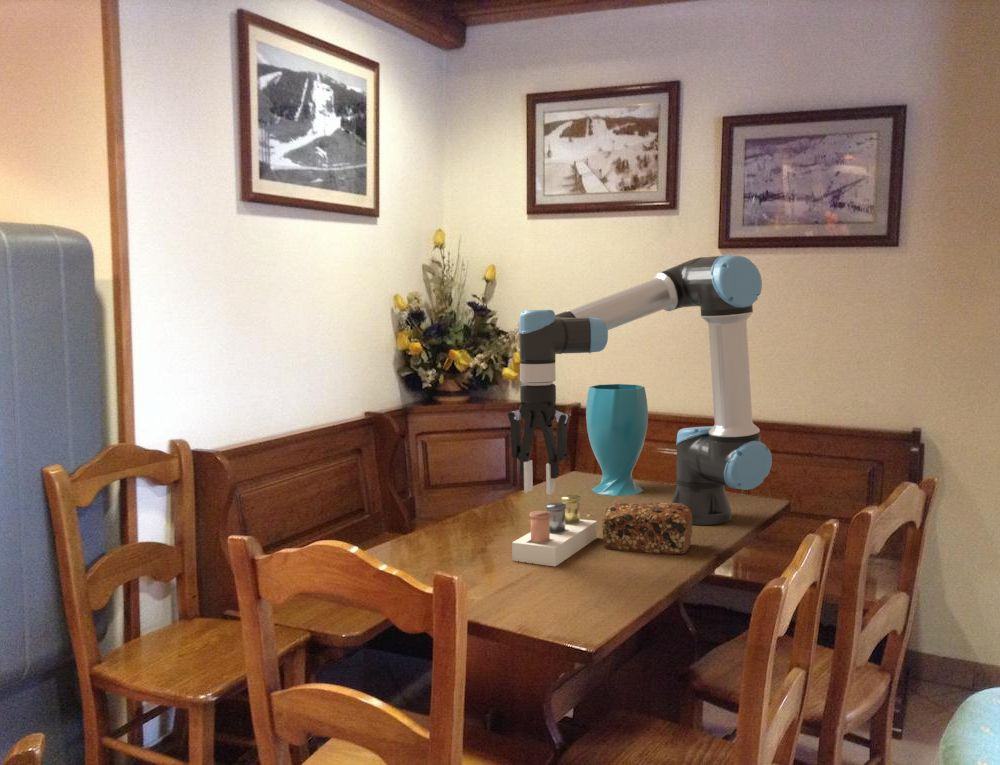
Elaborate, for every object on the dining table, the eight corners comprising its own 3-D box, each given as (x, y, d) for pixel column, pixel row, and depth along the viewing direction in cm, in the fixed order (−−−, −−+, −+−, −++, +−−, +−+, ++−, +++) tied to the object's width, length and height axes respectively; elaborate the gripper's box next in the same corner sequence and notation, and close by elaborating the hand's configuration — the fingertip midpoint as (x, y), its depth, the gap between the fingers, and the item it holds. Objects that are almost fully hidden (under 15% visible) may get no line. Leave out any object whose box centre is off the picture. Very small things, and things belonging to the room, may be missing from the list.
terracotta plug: (553, 538, 190) (553, 512, 190) (545, 543, 187) (544, 516, 186) (535, 536, 192) (534, 510, 192) (526, 541, 189) (526, 514, 188)
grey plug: (569, 529, 198) (569, 503, 197) (561, 533, 194) (561, 507, 193) (551, 527, 200) (551, 501, 199) (543, 531, 196) (542, 506, 195)
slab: (597, 537, 206) (596, 520, 205) (555, 566, 184) (555, 547, 184) (557, 533, 210) (557, 516, 210) (512, 560, 189) (512, 542, 189)
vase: (632, 499, 243) (631, 391, 241) (576, 492, 253) (575, 388, 250) (657, 487, 258) (656, 385, 255) (603, 481, 267) (602, 382, 264)
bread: (693, 544, 199) (693, 500, 198) (685, 557, 190) (685, 512, 189) (612, 537, 206) (612, 495, 205) (600, 549, 197) (600, 505, 196)
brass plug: (583, 520, 205) (583, 495, 205) (576, 524, 202) (576, 499, 201) (566, 518, 207) (565, 494, 207) (558, 522, 204) (558, 498, 203)
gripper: (583, 382, 185) (584, 492, 188) (508, 380, 194) (510, 485, 196) (569, 386, 179) (570, 499, 181) (492, 383, 187) (494, 492, 189)
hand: (539, 491), depth 188 cm, fingers open, 4 cm apart
